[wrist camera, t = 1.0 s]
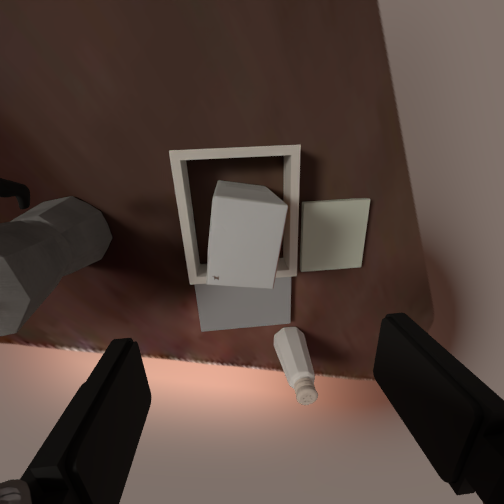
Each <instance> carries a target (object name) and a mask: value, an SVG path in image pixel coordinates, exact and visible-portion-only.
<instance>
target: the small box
mask: <svg viewBox="0 0 504 504" xmlns="http://www.w3.org/2000/svg"><path fill="white" fill-rule="evenodd" d="M287 211H288V205H287V204H286V203H285V202H283V201H282V200H281V199H280V198H279V197H277V196H276V195H275V194H274V193H273V192H272V191H270V190H269V189H268V188H267V187H265V186H260V185H252V184H244V183H237V182H229V181H221V180H218V182H217V185H216V188H215V192H214V195H213V199H212V209H211V220H210V232H209V242H208V262H207V279H206V284H207V285H221V286H235V287H251V288H267V289H273V287H274V282H275V277H276V271H277V266H278V261H279V255H280V250H281V244H282V239H283V233H284V228H285V222H286V217H287Z"/></svg>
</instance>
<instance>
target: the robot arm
mask: <svg viewBox="0 0 504 504" xmlns="http://www.w3.org/2000/svg"><path fill="white" fill-rule="evenodd" d="M373 373H374V377H375V379H376V381H377V383H378V384H379V386H380V387H381V389H382V390H383V392H384V393H385V395H386V396H387V398H388V399H389V401H390V402H391V404H392V405H393V407H394V408H395V410H396V411H397V413H398V414H399V416H400V417H401V419H402V420H403V422H404V423H405V425H406V426H407V428H408V429H409V431H410V432H411V434H412V435H413V437H414V438H415V440H416V442H417V443H418V445H419V446H420V448H421V449H422V451H423V452H424V454H425V455H426V457H427V458H428V459H429V461H430V463H431V464H432V466H433V467H434V469H435V470H436V472H437V473H438V475H439V476H440V477H441V479H442V480H443V481H445V482H447V483H449V484H450V486H451V487H452V489H453V490H454V492H455V493H456V495H462V494H469V493H474V492H475V491H476V493H477V495H478V496H479V497H480V499H481V500H482V501H483V504H504V400H503V399H501V398H500V397H499V396H498V395H497V394H496V393H494V391H492V390H491V389H490V388H489V387H488V386H487V385H486V384H484V383H483V382H482V381H481V380H480V379H479V378H478V377H476V376H475V375H474V374H473V373H472V372H471V371H470V370H469V369H467V368H466V367H465V366H464V365H463V364H462V363H461V362H459V361H458V360H457V359H456V358H455V357H454V356H452V354H450V353H449V352H448V351H447V350H446V349H445V348H443V347H442V346H441V345H440V344H439V343H438V342H437V341H436V340H434V339H433V338H432V337H431V336H430V335H429V334H428V333H427V332H425V331H424V330H423V329H422V328H421V327H420V326H419V325H417V324H416V323H415V322H414V321H413V320H412V319H411V318H409V317H408V316H407V315H406V314H404V313H394V314H387V315H386V317H385V318H384V319H382V322H381V328H380V334H379V340H378V346H377V351H376V357H375V363H374V369H373ZM150 404H151V392H150V388H149V385H148V381H147V377H146V373H145V369H144V365H143V362H142V358H141V354H140V350H139V346H138V343H137V342H133V340H132V339H131V338H123V339H114V340H113V341H112V342H111V343H110V345H109V346H108V348H107V349H106V351H105V353H104V354H103V356H102V357H101V359H100V360H99V362H98V364H97V365H96V367H95V368H94V370H93V371H92V373H91V375H90V376H89V377H88V379H87V381H86V382H85V383H84V384H82V386H81V387H80V388H79V390H78V391H77V393H76V394H75V396H74V397H73V399H72V400H71V402H70V403H69V405H68V406H67V408H66V409H65V411H64V413H63V414H62V416H61V417H60V419H59V420H58V422H57V423H56V425H55V426H54V428H53V429H52V431H51V432H50V434H49V436H48V437H47V439H46V440H45V442H44V443H43V445H42V447H41V448H40V449H39V451H38V452H37V454H36V456H35V457H34V459H33V460H32V462H31V463H30V465H29V466H28V468H27V469H26V471H25V473H24V474H23V476H22V477H21V479H16V480H8V481H5V482H2V483H0V504H119V502H120V499H121V496H122V493H123V490H124V487H125V483H126V480H127V477H128V474H129V471H130V468H131V465H132V461H133V458H134V455H135V452H136V449H137V445H138V443H139V439H140V436H141V433H142V430H143V427H144V424H145V421H146V417H147V414H148V411H149V408H150Z"/></svg>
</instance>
